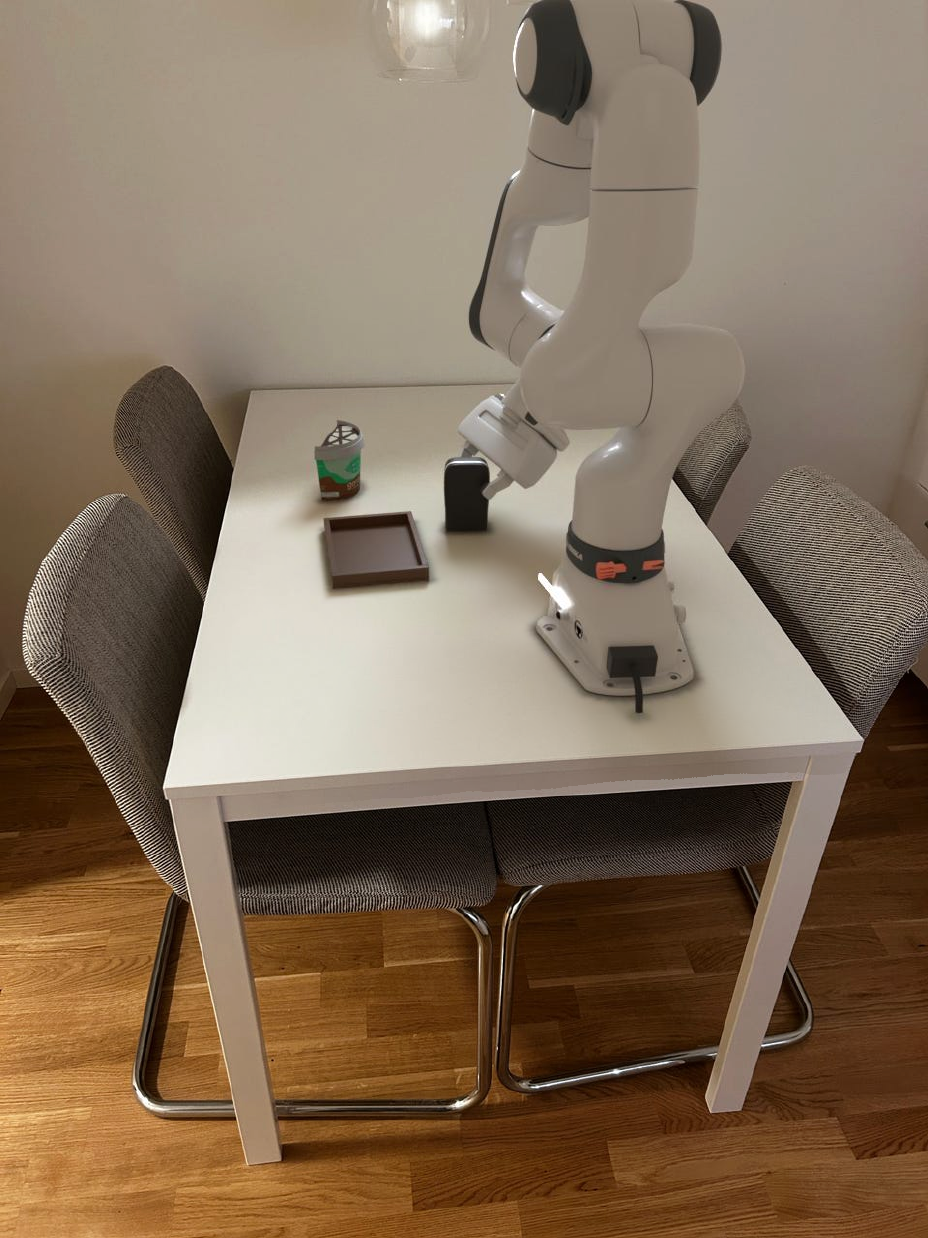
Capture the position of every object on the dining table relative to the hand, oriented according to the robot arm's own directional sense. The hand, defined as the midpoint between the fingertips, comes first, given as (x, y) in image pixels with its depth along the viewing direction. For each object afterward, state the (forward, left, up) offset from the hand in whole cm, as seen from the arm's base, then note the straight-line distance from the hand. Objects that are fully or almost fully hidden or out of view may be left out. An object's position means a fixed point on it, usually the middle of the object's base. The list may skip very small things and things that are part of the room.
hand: (470, 483), depth 143 cm
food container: (+16, +18, -7) cm, 25 cm away
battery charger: (0, +1, -7) cm, 7 cm away
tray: (-6, +16, -7) cm, 18 cm away
